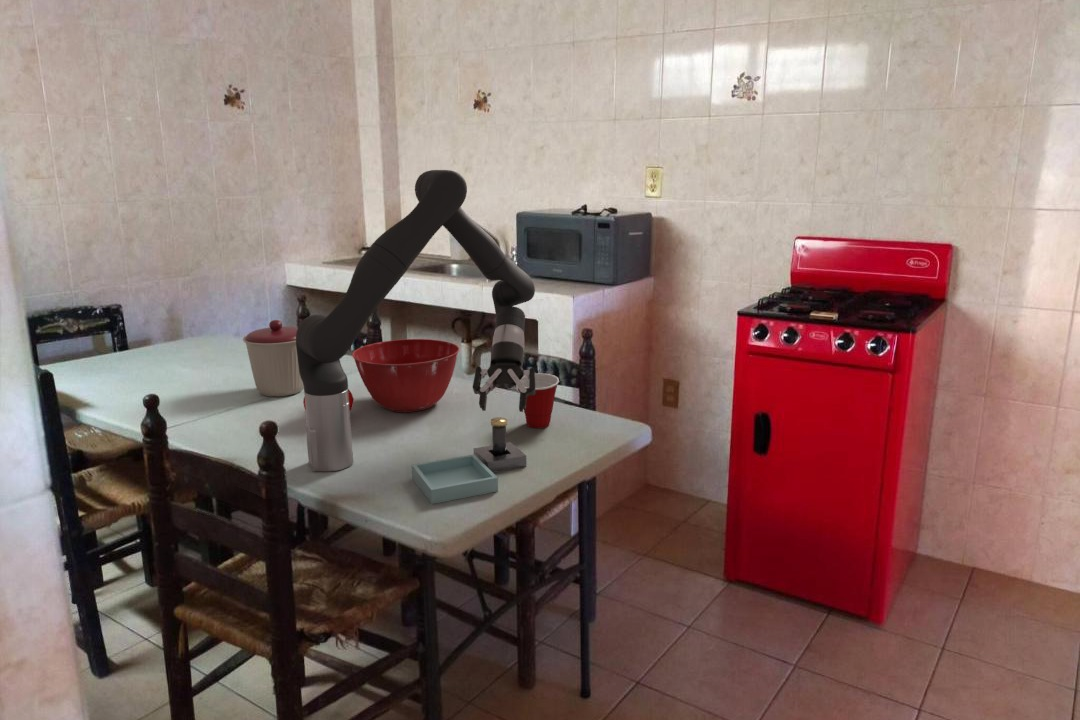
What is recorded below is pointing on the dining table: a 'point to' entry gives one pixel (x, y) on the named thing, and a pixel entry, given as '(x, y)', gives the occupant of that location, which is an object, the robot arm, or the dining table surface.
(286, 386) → the canister
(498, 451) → the pin
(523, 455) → the grey square socket base
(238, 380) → the dining table surface
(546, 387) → the plastic cup
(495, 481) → the tray
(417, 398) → the mixing bowl
